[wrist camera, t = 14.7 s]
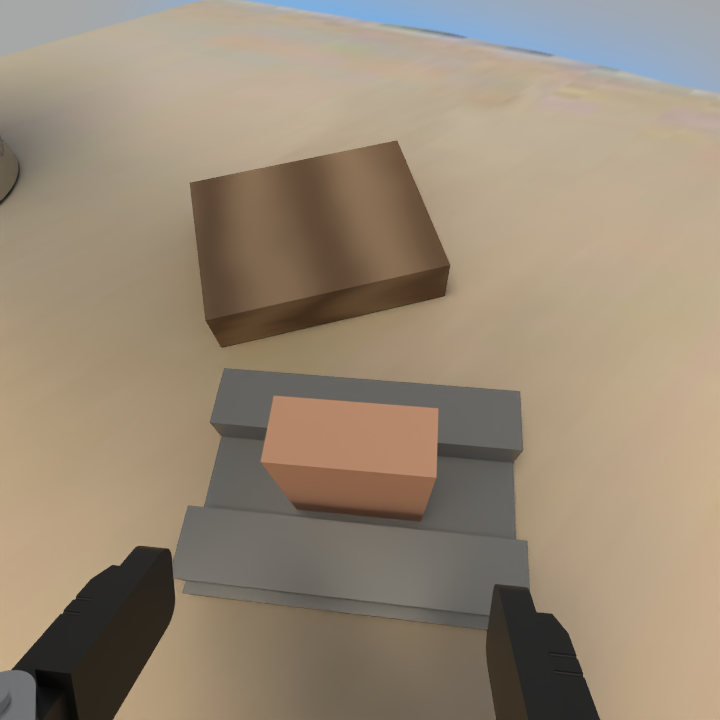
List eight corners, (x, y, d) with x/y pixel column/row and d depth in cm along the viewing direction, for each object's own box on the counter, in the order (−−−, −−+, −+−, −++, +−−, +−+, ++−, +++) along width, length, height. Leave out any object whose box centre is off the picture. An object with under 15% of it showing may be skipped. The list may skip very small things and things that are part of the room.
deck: (221, 347, 30) (205, 320, 27) (204, 216, 35) (189, 182, 32) (444, 295, 31) (450, 264, 28) (396, 176, 36) (397, 140, 33)
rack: (190, 594, 23) (165, 590, 21) (241, 384, 29) (226, 359, 26) (514, 633, 22) (531, 634, 19) (506, 405, 27) (519, 382, 25)
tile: (296, 509, 24) (260, 462, 17) (304, 459, 25) (273, 395, 18) (420, 521, 24) (436, 477, 16) (422, 470, 25) (438, 408, 18)
